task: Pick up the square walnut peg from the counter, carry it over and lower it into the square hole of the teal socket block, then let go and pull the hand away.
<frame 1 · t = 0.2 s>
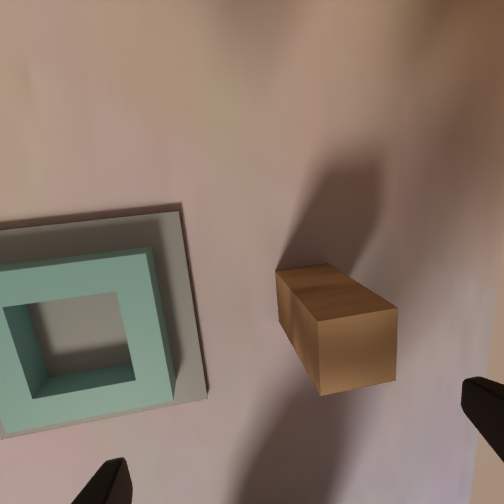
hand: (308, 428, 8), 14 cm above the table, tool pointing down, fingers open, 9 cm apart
walnut peg: (303, 292, 22), on the table
socket block: (89, 326, 20), on the table
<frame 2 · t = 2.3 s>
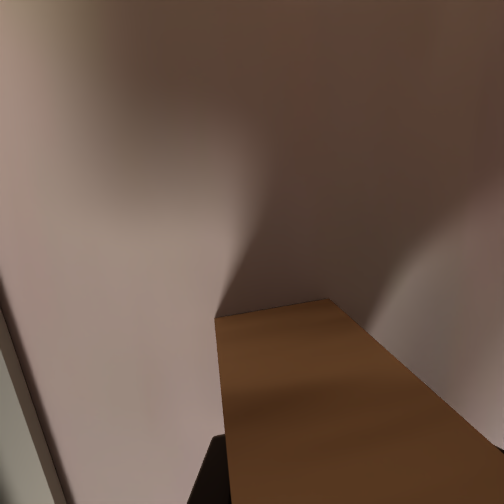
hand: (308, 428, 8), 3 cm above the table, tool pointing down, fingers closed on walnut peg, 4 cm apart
walnut peg: (278, 359, 10), on the table, touching gripper
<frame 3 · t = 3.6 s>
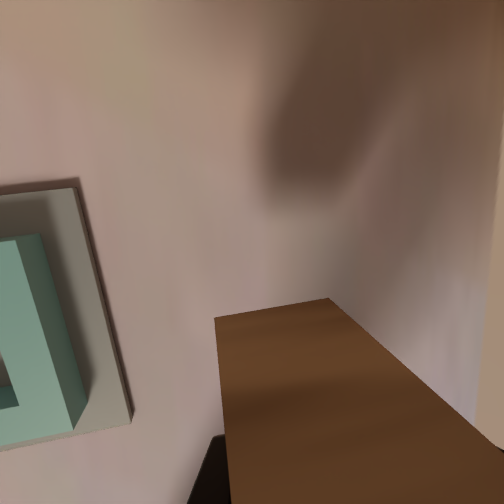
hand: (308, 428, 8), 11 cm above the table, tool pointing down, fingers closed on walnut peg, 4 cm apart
walnut peg: (278, 359, 10), point 7 cm above the table, touching gripper
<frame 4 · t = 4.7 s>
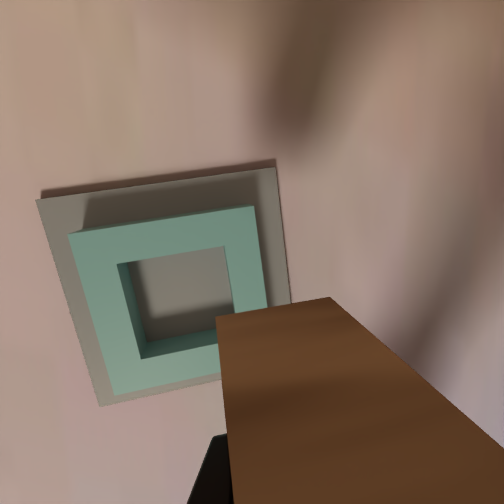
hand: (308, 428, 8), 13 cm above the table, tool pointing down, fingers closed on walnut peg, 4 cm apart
walnut peg: (279, 358, 10), point 10 cm above the table, touching gripper
socket block: (184, 289, 20), on the table
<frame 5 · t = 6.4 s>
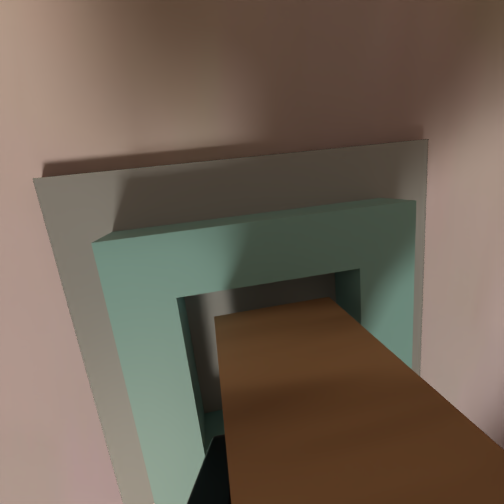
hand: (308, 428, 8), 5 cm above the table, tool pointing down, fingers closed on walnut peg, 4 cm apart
walnut peg: (278, 358, 10), point 2 cm above the table, touching gripper
socket block: (264, 330, 12), on the table
when the fingers open (4 cm above the table, at t = 7.4 s): walnut peg stays where it is, resting on socket block.
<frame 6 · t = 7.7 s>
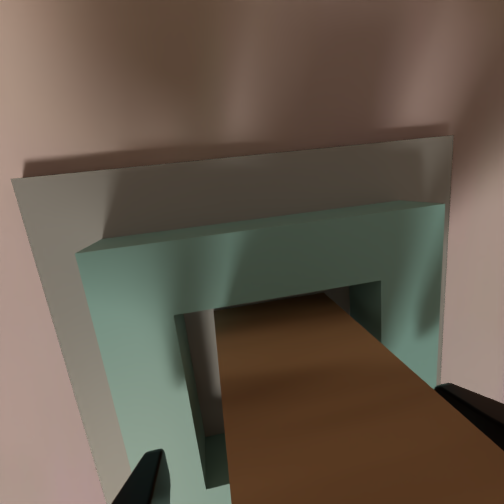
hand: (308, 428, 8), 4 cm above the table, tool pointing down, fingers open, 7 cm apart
walnut peg: (274, 351, 11), resting on socket block
socket block: (271, 345, 11), on the table
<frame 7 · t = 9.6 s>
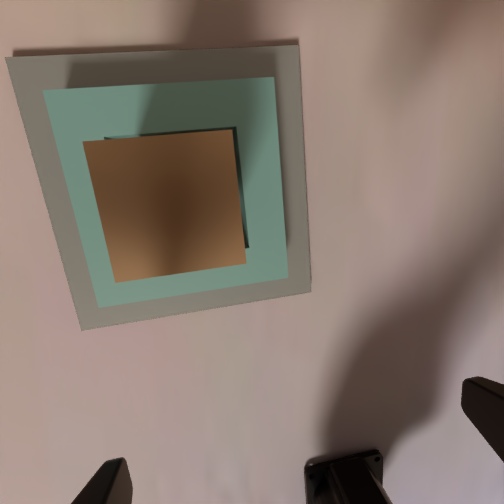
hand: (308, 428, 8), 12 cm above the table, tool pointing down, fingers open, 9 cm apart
walnut peg: (184, 194, 16), resting on socket block
socket block: (184, 194, 17), on the table
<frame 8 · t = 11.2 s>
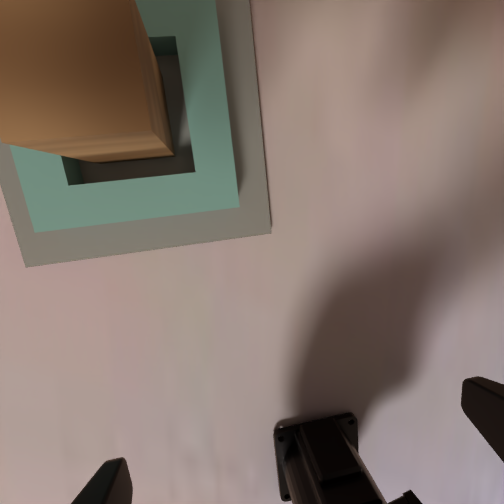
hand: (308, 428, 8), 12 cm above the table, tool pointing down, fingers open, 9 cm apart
walnut peg: (130, 120, 16), resting on socket block
socket block: (132, 123, 16), on the table
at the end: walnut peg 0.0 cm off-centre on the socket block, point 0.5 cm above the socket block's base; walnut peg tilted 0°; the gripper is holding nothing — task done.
